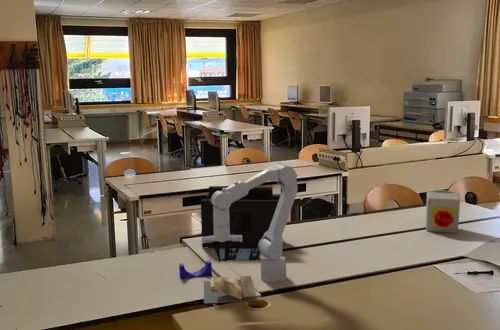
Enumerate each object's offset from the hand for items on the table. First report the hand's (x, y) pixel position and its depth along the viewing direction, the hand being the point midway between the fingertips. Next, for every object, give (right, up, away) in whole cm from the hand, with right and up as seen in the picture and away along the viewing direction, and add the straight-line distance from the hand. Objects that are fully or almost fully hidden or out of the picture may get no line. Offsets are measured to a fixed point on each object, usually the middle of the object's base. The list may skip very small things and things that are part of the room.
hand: (222, 261), depth 193 cm
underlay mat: (+3, -11, -3) cm, 11 cm away
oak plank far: (+1, -9, +2) cm, 9 cm away
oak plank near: (+2, -8, -9) cm, 12 cm away
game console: (+6, -3, +46) cm, 46 cm away
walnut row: (+9, -10, -3) cm, 13 cm away
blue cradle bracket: (-11, -9, +12) cm, 19 cm away
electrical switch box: (+104, +2, +68) cm, 124 cm away
